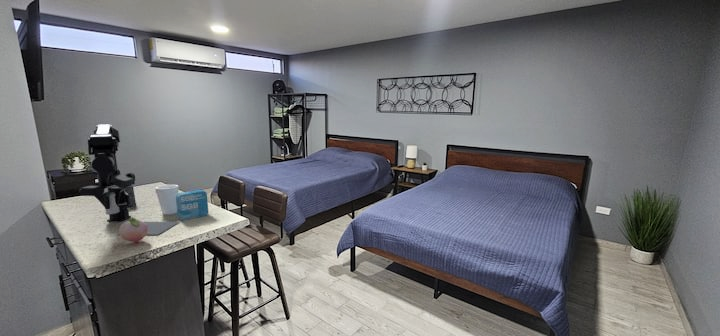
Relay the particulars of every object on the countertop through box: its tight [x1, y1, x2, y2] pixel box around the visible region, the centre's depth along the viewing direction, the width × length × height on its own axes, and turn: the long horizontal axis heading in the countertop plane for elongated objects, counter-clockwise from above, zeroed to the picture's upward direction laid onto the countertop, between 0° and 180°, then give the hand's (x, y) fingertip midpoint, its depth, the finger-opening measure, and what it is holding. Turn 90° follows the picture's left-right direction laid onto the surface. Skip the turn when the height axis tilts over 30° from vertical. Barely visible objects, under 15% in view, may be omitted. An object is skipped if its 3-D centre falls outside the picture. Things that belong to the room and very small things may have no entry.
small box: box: [125, 185, 137, 208], centre depth 154 cm, size 11×6×10 cm, turn 144°
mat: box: [117, 221, 180, 236], centre depth 126 cm, size 16×14×1 cm
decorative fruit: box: [118, 216, 148, 243], centre depth 112 cm, size 9×8×10 cm
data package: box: [176, 189, 209, 221], centre depth 140 cm, size 12×4×12 cm, turn 134°
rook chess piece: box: [104, 192, 120, 215], centre depth 116 cm, size 4×4×8 cm
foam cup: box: [155, 183, 180, 216], centre depth 146 cm, size 10×9×13 cm
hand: (112, 207), depth 117 cm, fingers closed on rook chess piece, 3 cm apart
